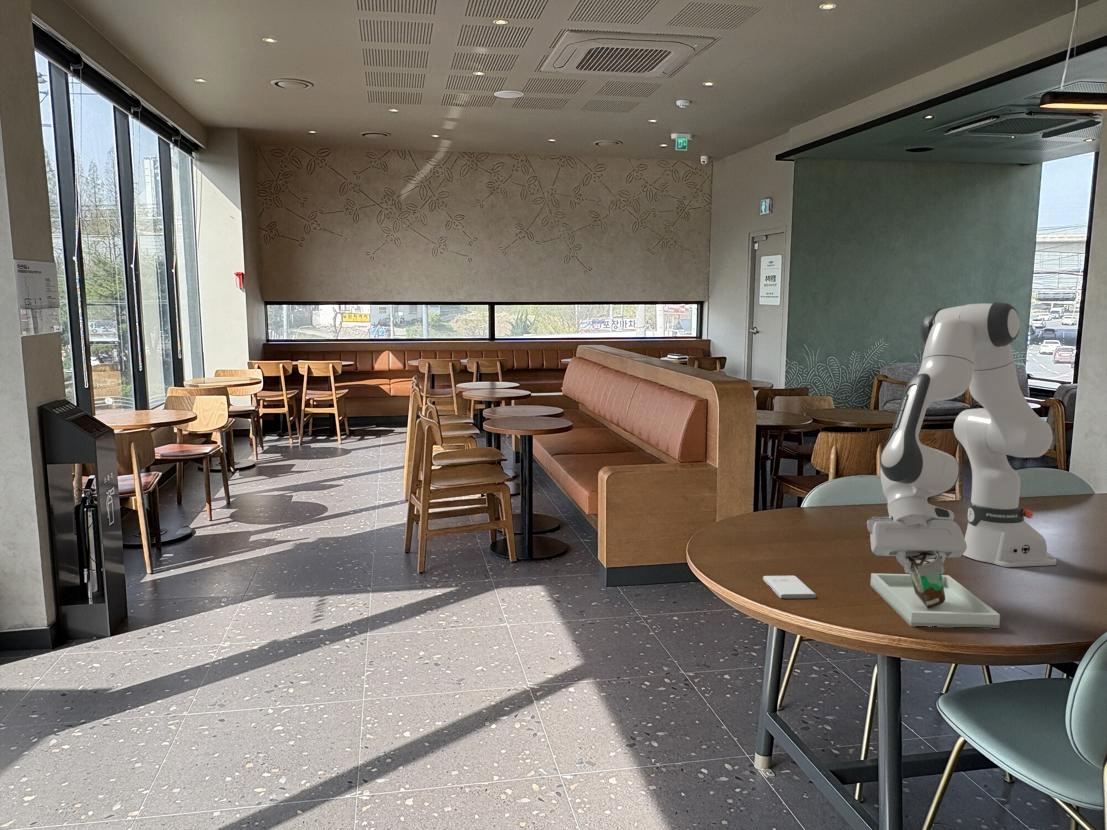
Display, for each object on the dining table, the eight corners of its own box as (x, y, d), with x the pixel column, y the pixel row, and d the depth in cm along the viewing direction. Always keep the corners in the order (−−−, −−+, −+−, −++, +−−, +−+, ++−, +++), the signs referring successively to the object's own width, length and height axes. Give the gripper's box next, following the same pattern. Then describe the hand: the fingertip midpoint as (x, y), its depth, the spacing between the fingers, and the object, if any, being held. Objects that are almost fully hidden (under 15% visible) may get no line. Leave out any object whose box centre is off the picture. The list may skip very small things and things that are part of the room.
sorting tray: (947, 587, 189) (948, 575, 189) (998, 628, 166) (1000, 614, 165) (870, 585, 190) (871, 573, 190) (910, 626, 166) (911, 612, 166)
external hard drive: (780, 601, 181) (762, 581, 194) (815, 600, 182) (795, 581, 194) (780, 594, 181) (763, 575, 193) (816, 593, 182) (796, 574, 194)
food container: (959, 605, 170) (948, 561, 170) (929, 611, 172) (918, 567, 171) (941, 585, 182) (931, 544, 182) (913, 591, 184) (903, 550, 183)
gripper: (869, 509, 182) (881, 565, 174) (960, 511, 181) (977, 567, 173) (861, 523, 187) (873, 577, 179) (949, 525, 187) (965, 579, 178)
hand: (925, 572), depth 176 cm, fingers closed on food container, 5 cm apart
